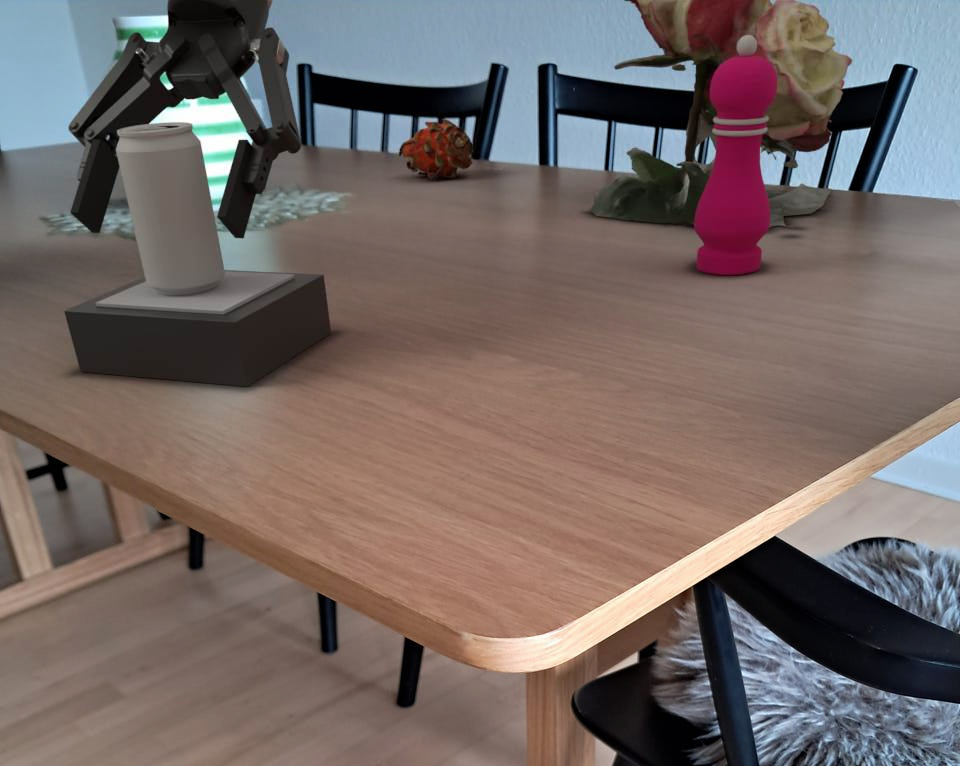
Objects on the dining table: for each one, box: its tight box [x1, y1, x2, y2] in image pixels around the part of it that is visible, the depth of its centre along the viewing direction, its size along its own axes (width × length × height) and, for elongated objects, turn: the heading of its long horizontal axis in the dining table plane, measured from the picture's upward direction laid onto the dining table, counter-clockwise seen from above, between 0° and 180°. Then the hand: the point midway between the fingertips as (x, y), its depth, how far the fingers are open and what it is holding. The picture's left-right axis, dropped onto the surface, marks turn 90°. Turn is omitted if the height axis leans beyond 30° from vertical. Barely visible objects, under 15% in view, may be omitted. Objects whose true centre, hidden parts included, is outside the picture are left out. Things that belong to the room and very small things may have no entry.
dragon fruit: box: [396, 118, 474, 181], centre depth 151 cm, size 8×8×12 cm
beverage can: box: [116, 121, 226, 295], centre depth 80 cm, size 6×6×12 cm
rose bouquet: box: [573, 0, 853, 235], centre depth 117 cm, size 26×29×30 cm
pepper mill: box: [693, 35, 777, 276], centre depth 95 cm, size 7×7×20 cm
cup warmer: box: [63, 269, 332, 388], centre depth 85 cm, size 17×14×5 cm
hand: (155, 225), depth 79 cm, fingers open, 13 cm apart
